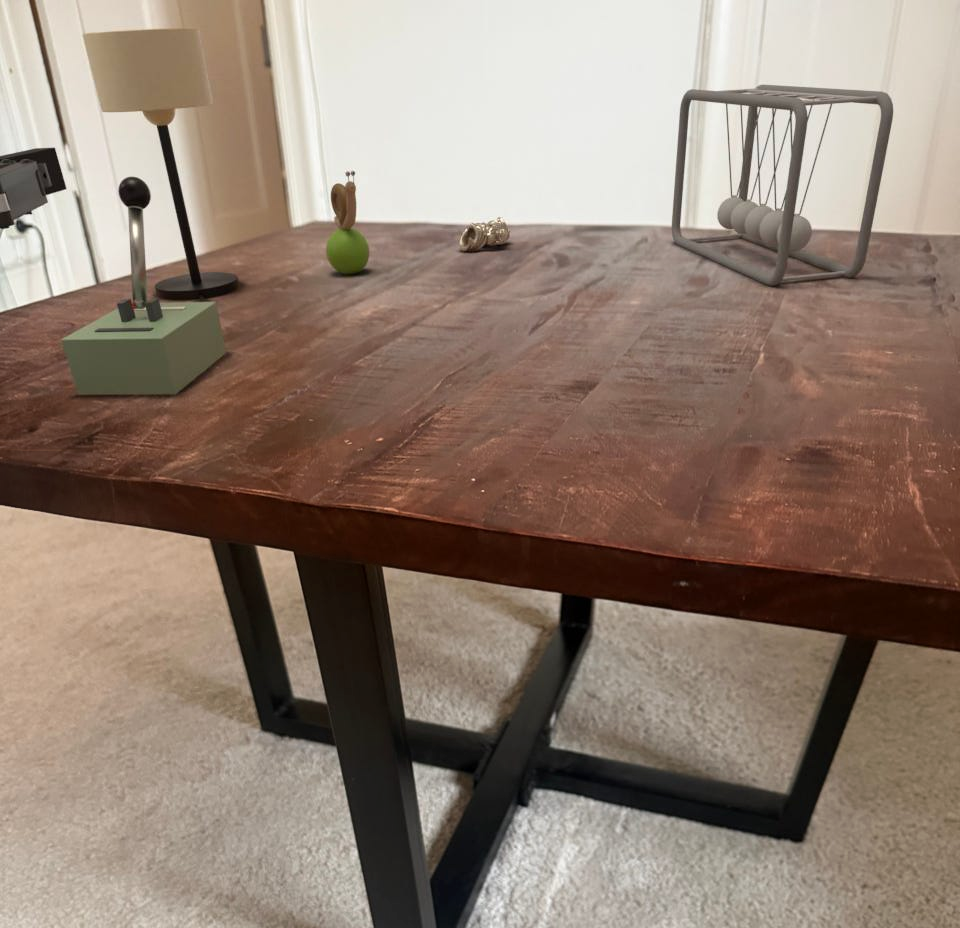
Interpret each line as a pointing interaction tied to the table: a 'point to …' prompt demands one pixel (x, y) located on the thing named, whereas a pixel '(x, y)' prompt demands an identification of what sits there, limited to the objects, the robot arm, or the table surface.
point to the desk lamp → (159, 117)
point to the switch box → (145, 348)
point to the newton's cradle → (762, 221)
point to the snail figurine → (346, 232)
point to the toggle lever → (136, 234)
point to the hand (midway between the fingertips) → (51, 168)
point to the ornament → (484, 235)
